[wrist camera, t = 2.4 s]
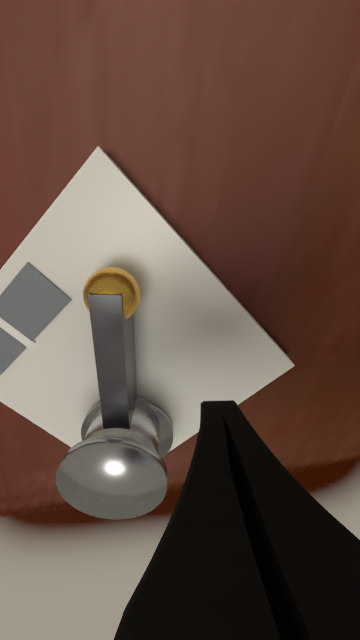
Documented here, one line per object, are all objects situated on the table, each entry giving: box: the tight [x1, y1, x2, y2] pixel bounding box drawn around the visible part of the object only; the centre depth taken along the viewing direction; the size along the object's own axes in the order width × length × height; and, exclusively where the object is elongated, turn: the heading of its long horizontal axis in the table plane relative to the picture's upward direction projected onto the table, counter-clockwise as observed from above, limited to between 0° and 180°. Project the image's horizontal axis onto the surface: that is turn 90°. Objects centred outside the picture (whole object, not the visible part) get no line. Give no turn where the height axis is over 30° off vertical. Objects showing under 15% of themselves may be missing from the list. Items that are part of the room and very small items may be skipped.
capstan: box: [56, 267, 173, 519], centre depth 16 cm, size 17×7×5 cm, turn 178°
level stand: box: [0, 147, 295, 452], centre depth 18 cm, size 18×18×2 cm
